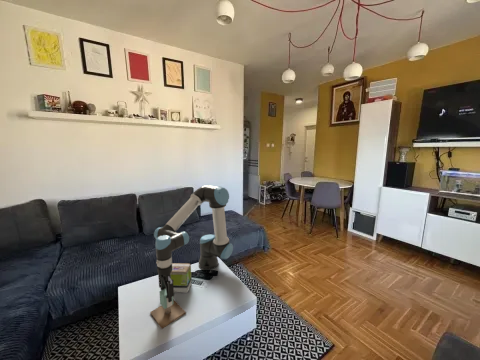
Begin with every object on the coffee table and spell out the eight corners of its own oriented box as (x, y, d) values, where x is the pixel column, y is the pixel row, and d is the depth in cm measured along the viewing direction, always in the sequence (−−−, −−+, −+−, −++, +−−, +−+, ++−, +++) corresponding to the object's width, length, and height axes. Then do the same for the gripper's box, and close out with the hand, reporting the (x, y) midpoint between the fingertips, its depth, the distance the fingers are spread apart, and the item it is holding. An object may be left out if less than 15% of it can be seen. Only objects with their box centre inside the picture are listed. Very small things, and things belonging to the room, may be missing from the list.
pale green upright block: (169, 299, 119) (168, 287, 117) (173, 303, 115) (172, 291, 114) (160, 303, 115) (159, 291, 114) (164, 309, 112) (163, 296, 110)
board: (173, 300, 126) (173, 298, 126) (185, 313, 117) (185, 311, 116) (150, 313, 117) (150, 312, 116) (161, 329, 107) (161, 327, 107)
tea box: (192, 282, 142) (191, 263, 139) (187, 293, 132) (186, 272, 130) (170, 282, 143) (169, 262, 140) (164, 292, 133) (162, 271, 130)
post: (169, 309, 118) (168, 300, 117) (171, 311, 116) (170, 302, 115) (164, 311, 116) (164, 302, 115) (166, 314, 115) (166, 305, 114)
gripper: (150, 260, 115) (153, 298, 119) (165, 275, 102) (168, 316, 106) (163, 255, 120) (165, 291, 124) (179, 268, 108) (181, 308, 112)
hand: (167, 303), depth 115 cm, fingers closed on pale green upright block, 5 cm apart
